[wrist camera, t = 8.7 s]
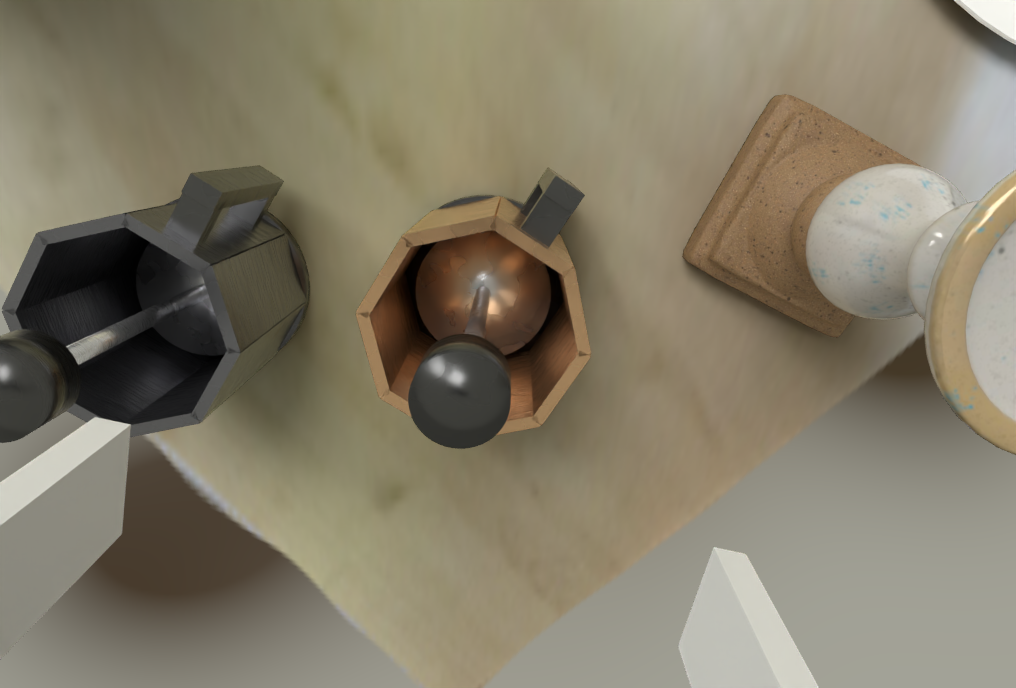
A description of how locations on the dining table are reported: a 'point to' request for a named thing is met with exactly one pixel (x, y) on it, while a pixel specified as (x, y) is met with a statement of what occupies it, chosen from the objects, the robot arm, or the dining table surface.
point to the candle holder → (872, 251)
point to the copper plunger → (473, 334)
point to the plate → (994, 15)
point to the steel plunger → (102, 344)
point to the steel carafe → (113, 297)
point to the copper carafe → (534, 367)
